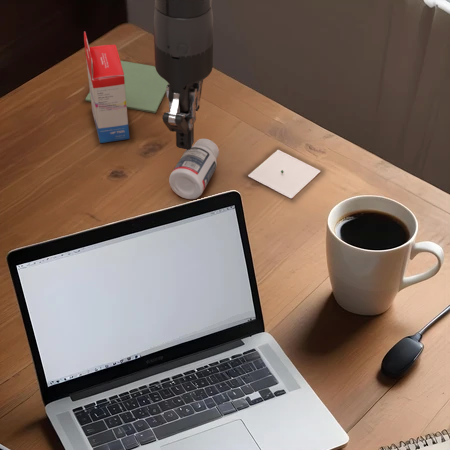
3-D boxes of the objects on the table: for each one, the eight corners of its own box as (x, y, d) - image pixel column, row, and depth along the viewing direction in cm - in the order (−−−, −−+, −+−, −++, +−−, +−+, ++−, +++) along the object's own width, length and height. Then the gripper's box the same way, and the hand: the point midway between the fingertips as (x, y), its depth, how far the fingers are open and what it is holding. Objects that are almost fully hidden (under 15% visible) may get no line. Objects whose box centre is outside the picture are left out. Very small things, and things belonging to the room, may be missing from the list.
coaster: (321, 171, 127) (321, 167, 126) (291, 198, 123) (291, 194, 122) (278, 149, 130) (278, 145, 129) (247, 175, 126) (247, 171, 125)
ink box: (130, 140, 131) (124, 57, 119) (99, 144, 130) (89, 61, 118) (121, 107, 136) (114, 25, 124) (91, 111, 135) (81, 29, 123)
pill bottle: (182, 204, 123) (204, 168, 129) (208, 195, 120) (230, 158, 125) (161, 176, 121) (184, 140, 126) (187, 166, 117) (210, 130, 123)
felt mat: (85, 101, 137) (85, 99, 136) (109, 60, 144) (108, 58, 144) (155, 113, 135) (155, 111, 135) (176, 71, 142) (175, 69, 142)
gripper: (169, 5, 110) (172, 113, 124) (139, 60, 102) (146, 170, 116) (224, 14, 109) (221, 122, 123) (198, 70, 101) (198, 180, 115)
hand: (185, 145), depth 119 cm, fingers closed
